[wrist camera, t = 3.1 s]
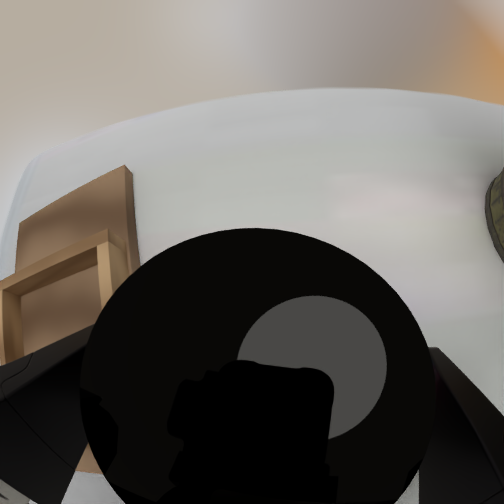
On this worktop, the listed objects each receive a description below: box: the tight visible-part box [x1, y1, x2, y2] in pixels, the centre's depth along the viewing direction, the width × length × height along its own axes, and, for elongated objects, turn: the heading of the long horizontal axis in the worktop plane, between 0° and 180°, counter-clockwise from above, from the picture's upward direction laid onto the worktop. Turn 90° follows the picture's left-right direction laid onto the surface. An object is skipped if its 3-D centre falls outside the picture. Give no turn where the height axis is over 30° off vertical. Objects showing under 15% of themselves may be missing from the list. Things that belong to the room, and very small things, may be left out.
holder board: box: [0, 165, 140, 474], centre depth 15 cm, size 20×12×3 cm, turn 16°
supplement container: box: [80, 228, 436, 504], centre depth 9 cm, size 7×7×10 cm
